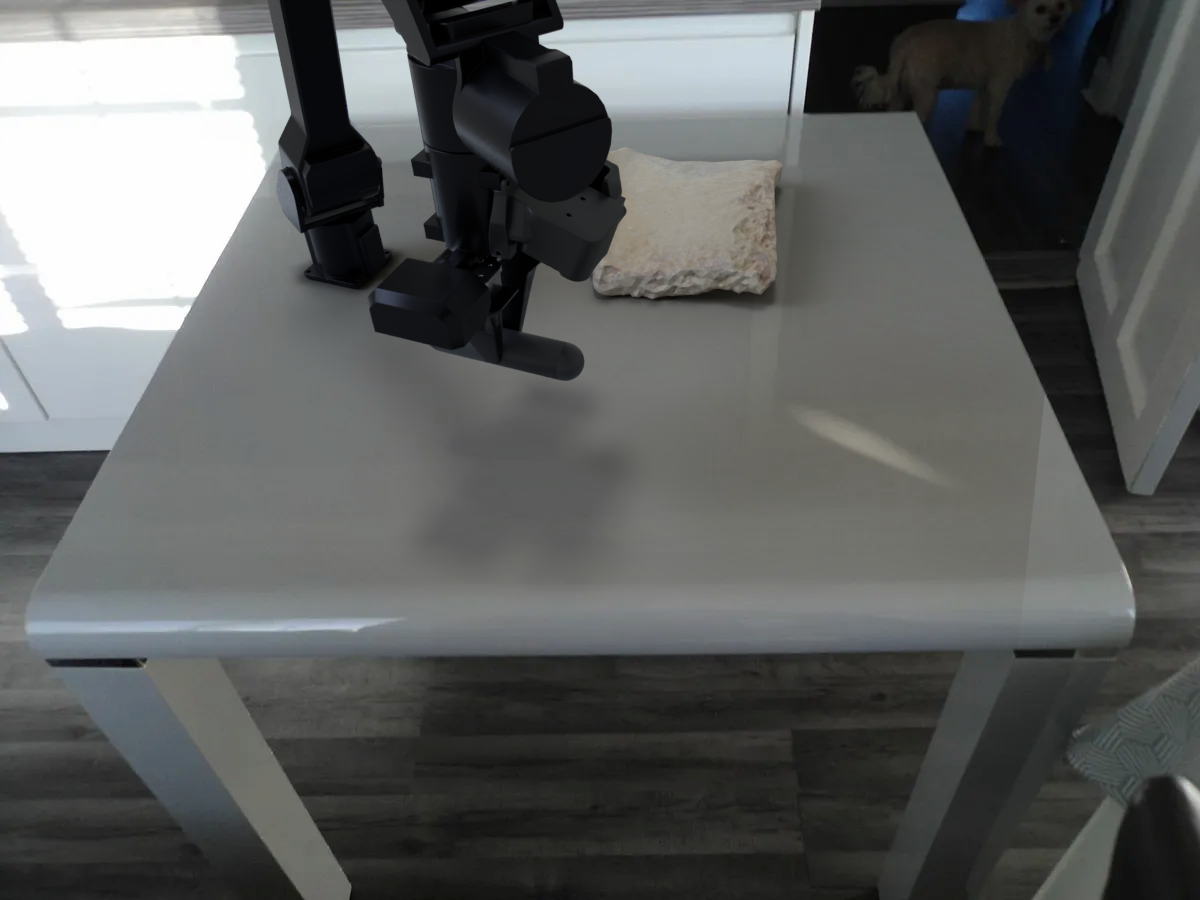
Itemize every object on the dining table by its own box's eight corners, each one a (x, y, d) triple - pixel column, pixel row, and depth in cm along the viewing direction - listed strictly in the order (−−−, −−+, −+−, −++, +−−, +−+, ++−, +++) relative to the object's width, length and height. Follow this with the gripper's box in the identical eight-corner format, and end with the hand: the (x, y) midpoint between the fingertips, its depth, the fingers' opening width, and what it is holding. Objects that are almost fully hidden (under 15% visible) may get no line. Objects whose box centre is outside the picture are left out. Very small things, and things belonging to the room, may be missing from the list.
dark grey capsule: (421, 354, 64) (415, 324, 62) (440, 334, 66) (434, 304, 64) (576, 392, 61) (573, 361, 59) (591, 369, 62) (589, 339, 60)
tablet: (559, 303, 85) (775, 303, 81) (546, 231, 81) (775, 226, 76) (610, 188, 103) (789, 183, 98) (601, 123, 98) (790, 114, 94)
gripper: (525, 236, 43) (551, 468, 54) (661, 85, 55) (660, 299, 66) (331, 199, 47) (392, 424, 57) (500, 65, 59) (523, 271, 70)
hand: (503, 350), depth 63 cm, fingers closed on dark grey capsule, 2 cm apart
